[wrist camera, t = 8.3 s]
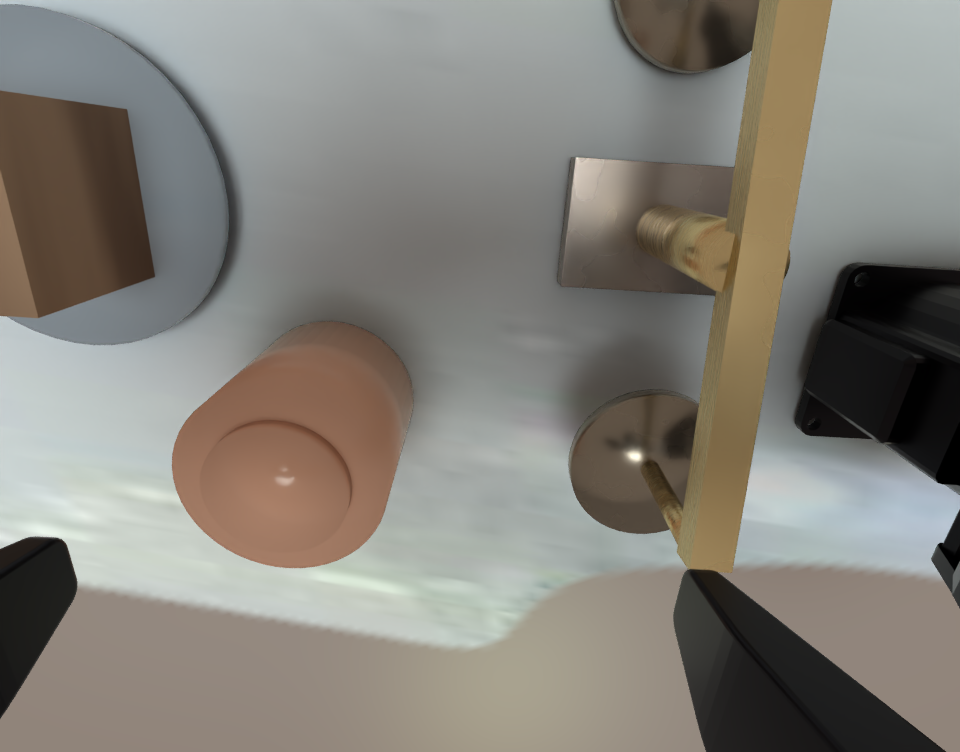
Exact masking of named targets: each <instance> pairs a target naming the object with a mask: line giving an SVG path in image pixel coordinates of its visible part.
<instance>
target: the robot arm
mask: <svg viewBox="0 0 960 752" xmlns="http://www.w3.org/2000/svg"><path fill="white" fill-rule="evenodd" d="M860 273H862V279H861V280H860V282H858V283H857V284H855V283H854V282H855V278H856V276H857V275H858V274H860ZM804 387H805V390H804V393H803V397H802V400H801V403H800V406H799V409H798V412H797V416H796V419H795V424H796V426H797V428H799V429H800V430H801V431H802V432H803V433H805V434H806V435H810V436H825V437H843V438H861V439H874V440H875V441H876V442H878V443H881V444H884V445H885V446H886V447H888V448H889V449H891V450H892V451H894V452H895V453H896V454H898V455H899V456H901V457H902V458H903V459H905V460H906V461H908V462H909V463H911V464H912V465H913V466H915V467H916V468H918V469H919V470H920V471H922V472H923V473H925V474H926V475H928V476H929V477H930V478H932V479H933V480H935V481H936V482H937V483H940V484H944V485H946V486H947V487H949V488H950V489H952V490H953V491H954V492H956V493H957V494H959V495H960V269H951V268H935V267H918V266H902V265H885V264H869V263H855V264H852V265H850V266H848V267H847V268H846V269H845V270H844V271H843V272H842V274H841V276H840V279H839V282H838V285H837V289H836V292H835V295H834V298H833V301H832V305H831V308H830V311H829V314H828V317H827V320H826V323H825V324H824V325H823V328H822V331H821V334H820V337H819V340H818V343H817V347H816V350H815V353H814V356H813V359H812V363H811V366H810V369H809V372H808V375H807V379H806V382H805V385H804ZM813 418H815V421H814V422H813V423H812V424H810V425H808V422H809V421H810V420H811V419H813ZM931 560H932V562H933V563H934V565H935V567H936V568H937V570H938V572H939V573H940V575H941V576H942V578H943V580H944V581H945V583H946V584H947V586H948V588H949V589H950V591H951V592H952V595H953V597H954V598H955V601H956V602H957V604H958V606H959V608H960V510H959V512H958V514H957V516H956V518H955V520H954V522H953V524H952V526H951V528H950V530H949V533H948V535H947V537H946V539H945V541H944V543H939V544H938V545H937V547H936V549H935V551H934V554H933V556H932V558H931ZM76 591H77V578H76V575H75V571H74V568H73V564H72V561H71V558H70V554H69V551H68V547H67V545H66V543H65V542H64V541H63V540H62V539H59V538H54V537H28V538H25V539H22V540H20V541H18V542H15V543H13V544H11V545H8V546H6V547H4V548H1V549H0V718H1V717H2V715H3V714H4V712H5V711H6V710H7V708H8V707H9V705H10V703H11V702H12V700H13V699H14V697H15V696H16V694H17V692H18V691H19V689H20V688H21V686H22V684H23V683H24V681H25V679H26V678H27V676H28V674H29V673H30V671H31V669H32V668H33V666H34V664H35V663H36V661H37V660H38V658H39V656H40V655H41V653H42V651H43V650H44V648H45V646H46V645H47V643H48V641H49V640H50V638H51V636H52V635H53V633H54V631H55V629H56V628H57V627H58V625H59V623H60V622H61V620H62V618H63V617H64V615H65V613H66V612H67V610H68V608H69V607H70V605H71V603H72V602H73V600H74V597H75V595H76ZM673 619H674V627H675V632H676V637H677V641H678V645H679V649H680V653H681V657H682V661H683V665H684V669H685V673H686V677H687V682H688V686H689V690H690V694H691V698H692V702H693V706H694V710H695V715H696V719H697V722H698V726H699V730H700V733H701V737H702V740H703V743H704V746H705V750H706V752H946V751H944V750H943V749H942V748H941V747H939V746H938V745H937V744H936V743H934V742H933V741H932V740H931V739H929V738H928V737H927V736H925V735H924V734H923V733H922V732H920V731H919V730H918V729H916V728H915V727H914V726H913V725H911V724H910V723H909V722H908V721H906V720H905V719H904V718H902V717H901V716H900V715H899V714H897V713H896V712H895V711H894V710H892V709H891V708H890V707H889V706H887V705H886V704H885V703H883V702H882V701H881V700H879V699H878V698H877V697H876V696H875V695H873V694H872V693H871V692H869V691H868V690H867V689H866V688H864V687H863V686H862V685H860V684H859V683H858V682H857V681H855V680H854V679H853V678H852V677H850V676H849V675H848V674H847V673H845V672H844V671H843V670H842V669H840V668H839V667H838V666H836V665H835V664H834V663H832V662H831V661H830V660H829V659H828V658H826V657H825V656H824V655H822V654H821V653H820V652H819V651H817V650H816V649H815V648H814V647H812V646H811V645H810V644H808V643H807V642H806V641H805V640H803V639H802V638H801V637H800V636H798V635H797V634H796V633H794V632H793V631H792V630H791V629H789V628H788V627H787V626H786V625H784V624H783V623H782V622H780V621H779V620H778V619H777V618H775V617H774V616H773V615H772V614H770V613H769V612H768V611H767V610H765V609H764V608H763V607H761V606H760V605H759V604H758V603H756V602H755V601H754V600H753V599H751V598H750V597H749V596H747V595H746V594H745V593H744V592H742V591H741V590H740V589H738V588H737V587H736V586H735V585H733V584H732V583H731V582H730V581H728V580H727V579H726V578H725V577H723V576H722V575H721V574H719V573H718V572H716V571H714V570H704V569H689V570H687V571H686V572H685V573H684V575H683V577H682V581H681V585H680V589H679V593H678V596H677V600H676V604H675V608H674V615H673Z"/></svg>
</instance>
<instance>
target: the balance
mask: <svg viewBox="0 0 960 752" xmlns="http://www.w3.org/2000/svg"><path fill="white" fill-rule="evenodd" d="M614 4H615V9H616V12H617V16H618V19H619V22H620V24H621V27H622V29H623V31H624V33H625V35H626V36H627V38H628V40H629V41H630V43H631V44H632V45H633V47H634V48H635V49H636V50H637V51H638V52H639V53H640V54H641V55H642V56H643V57H644V58H645V59H647V60H648V61H650V62H651V63H653V64H654V65H656V66H659V67H661V68H663V69H666V70H669V71H672V72H678V73H700V72H706V71H709V70H713V69H716V68H719V67H721V66H724V65H726V64H728V63H731V62H733V61H735V60H737V59H739V58H741V57H742V56H744V55H745V54H747V53H749V52H750V51H751V50H752V54H751V61H750V67H749V74H748V81H747V87H746V94H745V101H744V107H743V114H742V121H741V127H740V134H739V141H738V147H737V154H736V161H735V167H720V166H704V165H689V164H673V163H657V162H641V161H626V160H610V159H594V158H579V157H572V158H571V161H570V170H569V179H568V188H567V197H566V205H565V214H564V223H563V232H562V241H561V249H560V258H559V267H558V276H557V281H558V283H559V284H560V286H562V287H579V288H596V289H613V290H630V291H647V292H664V293H681V294H697V295H714V296H715V301H714V308H713V314H712V321H711V328H710V334H709V341H708V348H707V354H706V361H705V368H704V374H703V381H702V388H701V394H700V401H699V403H698V402H696V401H695V400H693V399H691V398H689V397H687V396H685V395H682V394H680V393H676V392H672V391H667V390H642V391H636V392H631V393H627V394H625V395H622V396H619V397H617V398H615V399H613V400H611V401H609V402H607V403H605V404H604V405H602V406H601V407H599V408H598V409H597V410H596V411H595V412H593V413H592V414H591V415H590V416H589V417H588V418H587V419H586V420H585V421H584V423H583V424H582V425H581V427H580V428H579V430H578V431H577V433H576V435H575V437H574V439H573V442H572V445H571V448H570V452H569V461H568V466H569V474H570V478H571V482H572V486H573V490H574V492H575V495H576V497H577V499H578V501H579V503H580V504H581V506H582V507H583V508H584V509H585V511H586V512H587V513H588V514H589V515H590V516H591V517H593V518H594V519H595V520H597V521H598V522H600V523H601V524H603V525H605V526H607V527H609V528H612V529H615V530H618V531H622V532H627V533H636V534H647V533H657V532H661V531H666V530H669V529H670V530H671V532H672V534H673V536H674V538H675V540H676V542H677V544H678V548H677V553H678V555H679V556H680V558H681V559H682V561H683V562H684V563H685V565H686V566H687V568H688V569H704V570H714V571H716V572H727V573H732V570H733V564H734V558H735V553H736V547H737V541H738V535H739V530H740V524H741V518H742V513H743V507H744V501H745V495H746V490H747V484H748V478H749V473H750V467H751V461H752V456H753V450H754V444H755V438H756V433H757V427H758V421H759V416H760V410H761V404H762V398H763V393H764V387H765V381H766V376H767V370H768V364H769V359H770V353H771V347H772V341H773V336H774V330H775V324H776V319H777V313H778V307H779V301H780V296H781V290H782V284H783V280H784V278H785V276H786V274H787V271H788V269H789V264H790V251H789V244H790V239H791V233H792V227H793V222H794V216H795V210H796V204H797V199H798V193H799V187H800V182H801V176H802V170H803V165H804V159H805V153H806V147H807V142H808V136H809V130H810V125H811V119H812V113H813V107H814V102H815V96H816V90H817V85H818V79H819V73H820V68H821V62H822V56H823V50H824V45H825V39H826V33H827V28H828V22H829V16H830V10H831V5H832V0H614Z"/></svg>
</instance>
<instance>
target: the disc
mask: <svg viewBox="0 0 960 752" xmlns="http://www.w3.org/2000/svg"><path fill="white" fill-rule="evenodd" d="M0 90H1V91H7V92H14V93H21V94H28V95H35V96H41V97H48V98H55V99H62V100H69V101H75V102H82V103H89V104H96V105H102V106H109V107H116V108H123V109H127V111H128V117H129V123H130V129H131V135H132V141H133V147H134V153H135V159H136V165H137V171H138V177H139V183H140V189H141V195H142V201H143V207H144V213H145V219H146V224H147V230H148V236H149V242H150V248H151V254H152V260H153V266H154V272H155V277H154V278H151V279H148V280H145V281H143V282H140V283H137V284H134V285H131V286H128V287H126V288H123V289H120V290H117V291H114V292H111V293H109V294H106V295H103V296H100V297H97V298H94V299H92V300H89V301H86V302H83V303H80V304H77V305H75V306H72V307H69V308H66V309H63V310H60V311H58V312H55V313H52V314H49V315H46V316H43V317H41V318H26V317H10V316H7V317H9V318H10V319H12V320H14V321H15V322H17V323H19V324H21V325H24V326H26V327H28V328H30V329H32V330H34V331H37V332H39V333H42V334H45V335H48V336H51V337H54V338H57V339H61V340H66V341H70V342H74V343H82V344H90V345H116V344H124V343H131V342H135V341H138V340H142V339H145V338H149V337H151V336H153V335H155V334H158V333H160V332H162V331H164V330H166V329H168V328H170V327H172V326H173V325H175V324H176V323H178V322H179V321H181V320H183V319H184V318H186V317H187V316H188V315H189V314H190V313H191V312H192V311H193V310H195V309H196V308H197V307H198V306H199V304H200V303H201V302H202V301H203V300H204V298H205V297H206V296H207V295H208V293H209V292H210V290H211V288H212V286H213V285H214V283H215V281H216V279H217V277H218V275H219V272H220V269H221V267H222V264H223V262H224V257H225V253H226V248H227V244H228V233H229V209H228V199H227V193H226V187H225V182H224V178H223V175H222V172H221V168H220V165H219V162H218V158H217V156H216V154H215V151H214V149H213V147H212V144H211V142H210V140H209V137H208V136H207V134H206V132H205V130H204V128H203V127H202V125H201V123H200V121H199V119H198V118H197V116H196V114H195V113H194V112H193V110H192V109H191V107H190V106H189V105H188V103H187V102H186V100H185V99H184V97H183V96H182V95H181V94H180V92H179V91H178V90H177V89H176V88H175V87H174V86H173V84H172V83H171V82H170V81H169V80H168V79H167V78H166V76H165V75H164V74H162V73H161V72H160V71H159V70H158V69H157V68H156V67H155V66H154V65H153V64H152V63H151V62H149V61H148V60H147V59H146V58H145V57H144V56H142V55H141V54H140V53H138V52H137V51H136V50H134V49H133V48H132V47H130V46H129V45H128V44H126V43H125V42H123V41H122V40H120V39H118V38H116V37H115V36H113V35H111V34H109V33H108V32H106V31H104V30H103V29H100V28H98V27H96V26H93V25H91V24H89V23H86V22H84V21H82V20H79V19H77V18H74V17H71V16H68V15H65V14H62V13H58V12H55V11H51V10H48V9H44V8H39V7H32V6H25V5H18V4H8V5H0Z"/></svg>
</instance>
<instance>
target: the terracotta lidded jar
mask: <svg viewBox="0 0 960 752" xmlns="http://www.w3.org/2000/svg"><path fill="white" fill-rule="evenodd" d="M412 411H413V389H412V384H411V380H410V378H409V375H408V372H407V370H406V368H405V366H404V364H403V363H402V361H401V360H400V358H399V357H398V355H397V354H396V353H395V352H394V351H393V350H392V349H391V348H390V347H389V346H388V345H387V344H386V343H385V342H384V341H383V340H381V339H380V338H378V337H377V336H375V335H374V334H372V333H370V332H368V331H366V330H364V329H362V328H359V327H357V326H354V325H350V324H346V323H341V322H333V321H321V322H314V323H309V324H305V325H301V326H299V327H296V328H294V329H292V330H290V331H288V332H287V333H285V334H284V335H282V336H281V337H280V338H279V339H277V340H276V341H275V342H274V343H273V344H272V345H270V346H269V347H268V348H267V349H266V350H265V351H264V352H262V353H261V354H260V355H259V356H258V357H257V358H255V359H254V360H253V361H252V362H251V363H250V364H248V365H247V366H246V367H245V368H244V369H243V370H242V371H240V372H239V373H238V374H237V375H236V376H235V377H233V378H232V379H231V380H230V381H229V382H228V383H227V384H225V385H224V386H223V387H222V388H221V389H220V390H218V391H217V392H216V393H215V394H214V395H213V396H211V397H210V398H209V399H208V400H207V401H206V402H205V403H203V404H202V405H201V406H200V407H199V408H198V409H196V410H195V411H194V412H193V413H192V415H191V416H190V417H189V418H188V419H187V420H186V422H185V423H184V425H183V427H182V428H181V430H180V431H179V434H178V436H177V439H176V441H175V445H174V450H173V456H172V471H173V479H174V483H175V487H176V490H177V493H178V495H179V497H180V500H181V502H182V504H183V505H184V507H185V509H186V511H187V512H188V514H189V515H190V516H191V518H192V519H193V520H194V522H195V523H196V524H197V525H198V526H199V527H200V528H201V529H202V530H203V531H204V532H205V533H206V534H207V535H208V536H209V537H211V538H212V539H213V540H214V541H215V542H217V543H218V544H220V545H221V546H223V547H224V548H226V549H228V550H229V551H231V552H233V553H235V554H237V555H239V556H241V557H244V558H246V559H249V560H251V561H255V562H258V563H261V564H265V565H270V566H275V567H284V568H306V567H315V566H320V565H324V564H328V563H331V562H334V561H337V560H339V559H341V558H343V557H345V556H347V555H349V554H351V553H352V552H354V551H355V550H357V549H358V548H359V547H361V546H362V545H363V544H364V543H365V542H366V541H367V540H368V539H369V538H370V537H371V535H372V534H373V533H374V532H375V530H376V528H377V527H378V525H379V523H380V522H381V519H382V517H383V514H384V512H385V508H386V505H387V501H388V497H389V494H390V490H391V487H392V483H393V480H394V476H395V472H396V469H397V465H398V462H399V458H400V455H401V451H402V448H403V444H404V440H405V437H406V433H407V430H408V426H409V423H410V419H411V415H412Z"/></svg>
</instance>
